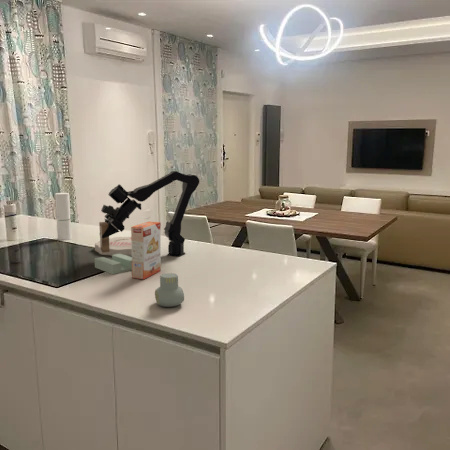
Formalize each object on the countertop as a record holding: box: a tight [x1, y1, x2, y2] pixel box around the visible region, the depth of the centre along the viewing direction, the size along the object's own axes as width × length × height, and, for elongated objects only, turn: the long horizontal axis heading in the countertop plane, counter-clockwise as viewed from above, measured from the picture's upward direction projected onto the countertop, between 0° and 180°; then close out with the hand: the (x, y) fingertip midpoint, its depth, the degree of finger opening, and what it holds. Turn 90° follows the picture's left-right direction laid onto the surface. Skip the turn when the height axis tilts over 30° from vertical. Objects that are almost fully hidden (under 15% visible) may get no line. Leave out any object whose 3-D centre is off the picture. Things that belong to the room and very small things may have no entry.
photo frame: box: [98, 221, 110, 252], centre depth 201 cm, size 6×3×12 cm, turn 24°
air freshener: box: [154, 272, 185, 308], centre depth 150 cm, size 11×8×10 cm
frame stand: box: [94, 254, 132, 275], centre depth 193 cm, size 14×12×4 cm
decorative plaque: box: [94, 236, 132, 257], centre depth 227 cm, size 30×4×30 cm
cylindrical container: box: [54, 192, 72, 241], centre depth 247 cm, size 7×7×25 cm
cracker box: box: [130, 221, 162, 280], centre depth 182 cm, size 14×6×21 cm, turn 160°
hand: (101, 236), depth 201 cm, fingers closed on photo frame, 6 cm apart
